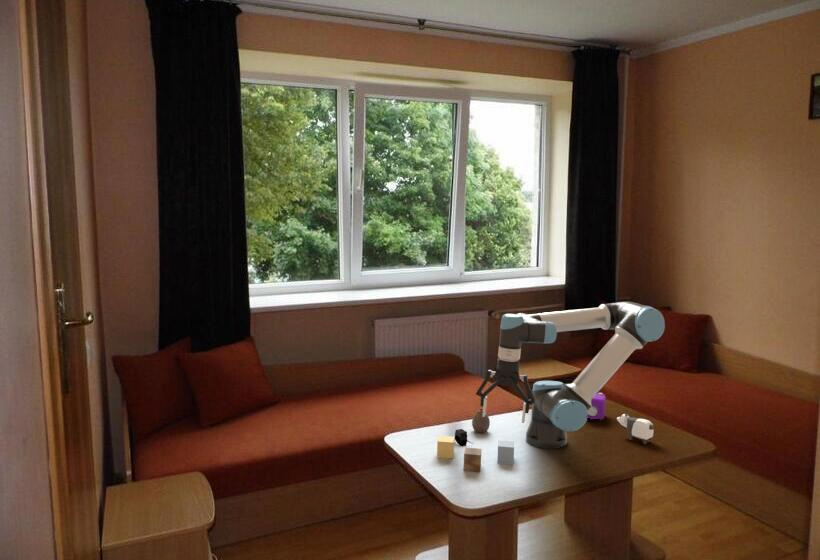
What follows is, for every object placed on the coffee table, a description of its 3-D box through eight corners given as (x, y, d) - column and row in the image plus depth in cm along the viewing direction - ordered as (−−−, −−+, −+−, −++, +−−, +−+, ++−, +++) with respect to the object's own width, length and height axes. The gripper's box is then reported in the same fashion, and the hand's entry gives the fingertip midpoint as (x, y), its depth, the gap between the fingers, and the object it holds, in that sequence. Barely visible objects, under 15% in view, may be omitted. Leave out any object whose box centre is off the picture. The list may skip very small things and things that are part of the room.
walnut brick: (480, 465, 210) (481, 448, 210) (480, 472, 205) (480, 455, 204) (464, 464, 211) (465, 447, 211) (463, 471, 206) (464, 453, 205)
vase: (492, 430, 243) (493, 409, 242) (484, 435, 238) (485, 413, 236) (476, 427, 247) (477, 405, 246) (468, 432, 241) (469, 410, 240)
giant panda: (655, 443, 234) (657, 418, 233) (648, 446, 230) (650, 422, 229) (619, 432, 244) (620, 409, 243) (612, 435, 241) (613, 412, 239)
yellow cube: (454, 452, 221) (454, 436, 220) (452, 459, 215) (453, 442, 215) (438, 451, 222) (439, 435, 221) (437, 457, 216) (437, 441, 216)
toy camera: (581, 422, 255) (582, 399, 253) (578, 411, 268) (579, 389, 267) (608, 424, 253) (610, 401, 252) (603, 413, 266) (605, 391, 265)
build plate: (477, 446, 228) (478, 435, 227) (461, 450, 225) (461, 438, 224) (459, 435, 239) (460, 424, 238) (443, 438, 236) (444, 427, 235)
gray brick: (513, 457, 217) (514, 441, 217) (513, 464, 212) (514, 447, 211) (497, 456, 218) (498, 440, 218) (497, 462, 213) (497, 446, 212)
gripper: (471, 356, 212) (466, 416, 214) (545, 366, 205) (539, 427, 207) (474, 352, 219) (470, 410, 221) (546, 361, 212) (540, 420, 215)
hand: (503, 418), depth 214 cm, fingers open, 13 cm apart
